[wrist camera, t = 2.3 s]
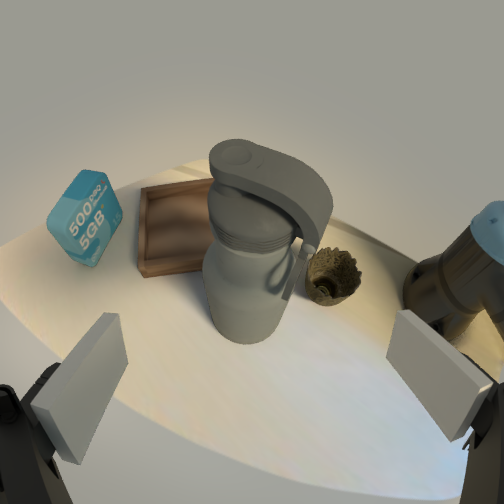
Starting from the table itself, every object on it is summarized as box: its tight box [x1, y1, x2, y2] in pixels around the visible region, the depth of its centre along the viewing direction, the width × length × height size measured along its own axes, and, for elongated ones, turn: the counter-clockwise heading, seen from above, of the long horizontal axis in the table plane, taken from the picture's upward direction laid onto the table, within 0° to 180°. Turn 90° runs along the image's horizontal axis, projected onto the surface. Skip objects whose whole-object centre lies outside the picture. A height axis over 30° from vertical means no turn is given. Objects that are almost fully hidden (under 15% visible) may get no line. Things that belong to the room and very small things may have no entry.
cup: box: [305, 247, 362, 306], centre depth 40 cm, size 8×7×8 cm
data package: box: [47, 170, 122, 267], centre depth 42 cm, size 12×4×12 cm, turn 165°
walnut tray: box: [138, 178, 215, 278], centre depth 47 cm, size 16×16×4 cm
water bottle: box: [202, 139, 333, 344], centre depth 30 cm, size 10×10×28 cm
